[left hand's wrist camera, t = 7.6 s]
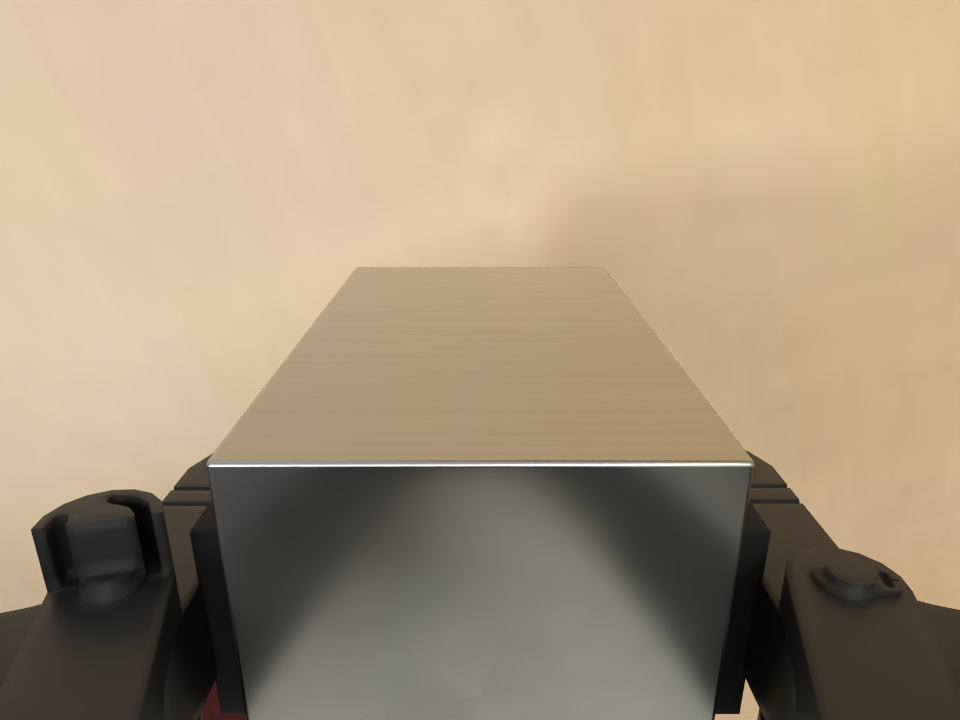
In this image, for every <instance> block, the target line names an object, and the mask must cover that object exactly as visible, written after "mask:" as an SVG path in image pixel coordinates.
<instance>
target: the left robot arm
mask: <svg viewBox="0 0 960 720" xmlns="http://www.w3.org/2000/svg"><path fill="white" fill-rule="evenodd" d="M746 452H747V453H748V455H749V456H750V457H751V459H752V460H753V462H754V471H753V478H752V484H751V490H750V497H749V503H748V509H747V516H746V522H745V528H744V535H743V541H742V547H741V554H740V560H739V566H738V573H737V579H736V585H735V592H734V598H733V604H732V611H731V617H730V623H729V630H728V636H727V642H726V649H725V655H724V661H723V668H722V674H721V680H720V686H719V693H718V699H717V705H716V712H715V714H739V713H740V707H741V702H742V696H743V690H744V684H745V679H746V680H747V682H748V684H749V686H750V689H751V691H752V693H753V695H754V697H755V699H756V702H757V704H758V706H759V714H758V719H757V720H960V610H956V609H951V608H946V607H942V606H937V605H932V604H928V603H924V602H921V601H917V600H916V598H915V595H914V593H913V591H912V590H911V589H910V588H909V586H908V585H907V584H906V583H905V581H904V580H903V579H902V578H901V577H900V576H899V575H898V574H896V573H895V572H893V571H892V570H890V569H889V568H888V567H886V566H885V565H883V564H882V563H880V562H877V561H875V560H873V559H870V558H868V557H866V556H864V555H861V554H859V553H855V552H851V551H846V550H842V549H839V548H838V547H837V546H836V544H835V543H834V542H833V541H832V539H831V538H830V537H829V536H828V534H827V533H826V532H825V531H824V530H823V528H822V527H821V526H820V525H819V523H818V522H817V521H816V520H815V518H814V517H813V516H812V515H811V514H810V512H809V511H808V510H807V509H806V507H805V506H804V505H803V504H800V503H799V499H798V498H797V496H796V495H795V494H794V493H793V491H792V490H791V489H790V488H787V484H786V483H785V481H784V480H783V479H782V478H781V477H780V475H779V474H778V473H777V472H776V470H775V469H774V468H773V467H772V466H771V465H769V464H768V463H766V462H764V461H763V460H761V459H760V458H758V457H756V456H755V455H753V454H751V453H750V452H748V451H746ZM212 455H213V454H211V455H210V456H208V457H207V458H205V459H203V460H202V461H200V462H198V463H197V464H195V465H194V466H192V467H190V468H189V469H188V470H187V471H186V473H185V474H184V475H183V476H182V478H181V479H180V480H179V481H178V483H177V484H176V485H175V486H174V490H171V491H170V492H169V494H168V495H167V496H166V497H165V499H164V500H163V501H161V500H160V499H158V498H157V497H156V496H155V495H153V494H152V493H148V492H144V491H139V490H111V491H106V492H101V493H96V494H92V495H87V496H84V497H82V498H79V499H76V500H74V501H71V502H68V503H66V504H63V505H62V506H60V507H58V508H57V509H55V510H53V511H52V512H50V513H48V514H47V515H45V516H43V517H42V518H41V520H40V521H39V522H38V523H37V524H36V525H35V526H34V527H33V528H32V529H31V532H32V536H33V540H34V543H35V547H36V551H37V554H38V558H39V562H40V566H41V569H42V573H43V577H44V580H45V584H46V588H47V592H48V593H47V595H46V597H45V599H44V601H43V603H42V604H40V605H37V606H33V607H29V608H24V609H19V610H15V611H10V612H5V613H0V720H203V719H202V714H201V711H202V708H203V706H204V704H205V702H206V700H207V698H208V695H209V693H210V691H211V689H212V687H213V685H214V682H216V687H217V693H218V699H219V705H220V710H221V714H246V713H245V707H244V700H243V694H242V688H241V681H240V675H239V669H238V662H237V656H236V650H235V643H234V637H233V631H232V624H231V618H230V612H229V605H228V599H227V592H226V586H225V580H224V573H223V567H222V561H221V554H220V548H219V542H218V535H217V529H216V523H215V516H214V510H213V504H212V497H211V491H210V484H209V478H208V472H207V462H208V460H209V458H210V457H211V456H212Z"/></svg>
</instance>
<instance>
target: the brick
mask: <svg viewBox="0 0 960 720" xmlns="http://www.w3.org/2000/svg"><path fill="white" fill-rule="evenodd" d="M753 471H754V462H753V460H752V459H751V457H750V456H749V455H748V453H747V452H746V451H745V450H744V448H743V447H742V446H741V444H740V443H739V442H738V440H737V439H736V438H735V437H734V435H733V434H732V433H731V431H730V430H729V429H728V428H727V426H726V425H725V424H724V422H723V421H722V420H721V418H720V417H719V416H718V415H717V413H716V412H715V411H714V409H713V408H712V407H711V405H710V404H709V403H708V402H707V400H706V399H705V398H704V396H703V395H702V394H701V393H700V391H699V390H698V389H697V387H696V386H695V385H694V383H693V382H692V381H691V380H690V378H689V377H688V376H687V374H686V373H685V372H684V371H683V369H682V368H681V367H680V365H679V364H678V363H677V361H676V360H675V359H674V358H673V356H672V355H671V354H670V352H669V351H668V350H667V349H666V347H665V346H664V345H663V343H662V342H661V341H660V339H659V338H658V337H657V336H656V334H655V333H654V332H653V330H652V329H651V328H650V326H649V325H648V324H647V323H646V321H645V320H644V319H643V317H642V316H641V315H640V314H639V312H638V311H637V310H636V308H635V307H634V306H633V304H632V303H631V302H630V301H629V299H628V298H627V297H626V295H625V294H624V293H623V292H622V290H621V289H620V288H619V286H618V285H617V284H616V282H615V281H614V280H613V279H612V277H611V276H610V275H609V273H608V272H607V271H606V270H605V268H603V267H358V268H356V269H355V270H354V271H353V273H352V274H351V275H350V277H349V278H348V279H347V280H346V282H345V283H344V284H343V286H342V287H341V288H340V290H339V291H338V292H337V293H336V295H335V296H334V297H333V299H332V300H331V301H330V303H329V304H328V305H327V306H326V308H325V309H324V310H323V312H322V313H321V314H320V316H319V317H318V318H317V319H316V321H315V322H314V323H313V325H312V326H311V327H310V329H309V330H308V331H307V332H306V334H305V335H304V336H303V338H302V339H301V340H300V342H299V343H298V344H297V345H296V347H295V348H294V349H293V351H292V352H291V353H290V355H289V356H288V357H287V358H286V360H285V361H284V362H283V364H282V365H281V366H280V368H279V369H278V370H277V371H276V373H275V374H274V375H273V377H272V378H271V379H270V381H269V382H268V383H267V384H266V386H265V387H264V388H263V390H262V391H261V392H260V394H259V395H258V396H257V397H256V399H255V400H254V401H253V403H252V404H251V405H250V407H249V408H248V409H247V410H246V412H245V413H244V414H243V416H242V417H241V418H240V420H239V421H238V422H237V423H236V425H235V426H234V427H233V429H232V430H231V431H230V433H229V434H228V435H227V436H226V438H225V439H224V440H223V442H222V443H221V444H220V445H219V447H218V448H217V449H216V451H215V452H214V453H213V455H212V456H211V457H210V458H209V460H208V462H207V472H208V478H209V484H210V491H211V497H212V504H213V510H214V516H215V523H216V529H217V535H218V542H219V548H220V554H221V561H222V567H223V573H224V580H225V586H226V592H227V599H228V605H229V612H230V618H231V624H232V631H233V637H234V643H235V650H236V656H237V662H238V669H239V675H240V681H241V688H242V694H243V700H244V707H245V713H246V719H247V720H714V718H715V712H716V705H717V699H718V693H719V686H720V680H721V674H722V668H723V661H724V655H725V649H726V642H727V636H728V630H729V623H730V617H731V611H732V604H733V598H734V592H735V585H736V579H737V573H738V566H739V560H740V554H741V547H742V541H743V535H744V528H745V522H746V516H747V509H748V503H749V497H750V490H751V484H752V478H753Z"/></svg>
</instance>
